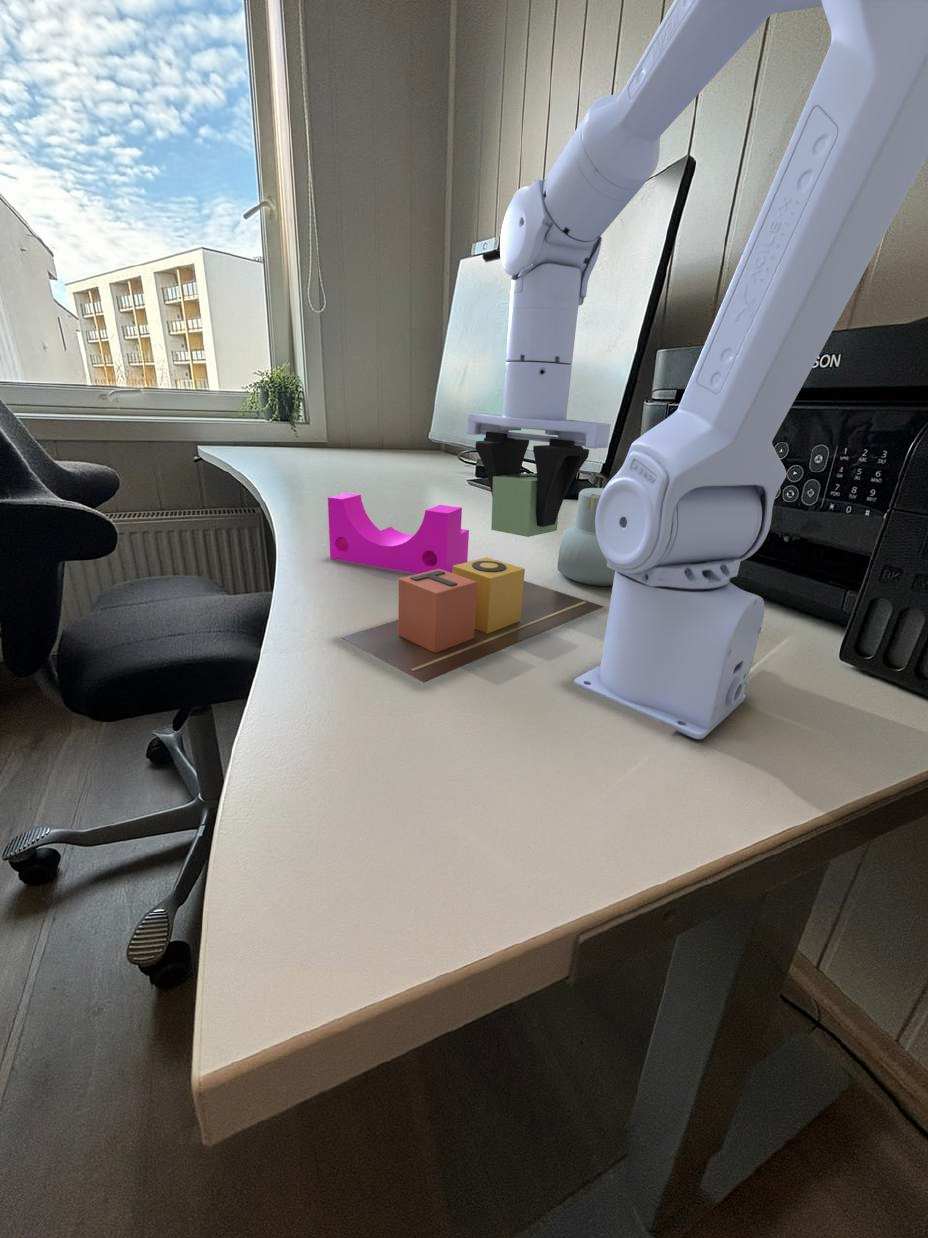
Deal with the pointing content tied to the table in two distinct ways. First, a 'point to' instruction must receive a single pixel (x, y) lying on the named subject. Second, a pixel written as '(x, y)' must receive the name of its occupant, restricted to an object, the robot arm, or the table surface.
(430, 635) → the orange letter t block
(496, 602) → the yellow cube
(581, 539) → the air freshener
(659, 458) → the robot arm
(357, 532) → the toy block
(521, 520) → the green square block
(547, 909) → the table surface
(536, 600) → the word board
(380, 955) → the table surface
